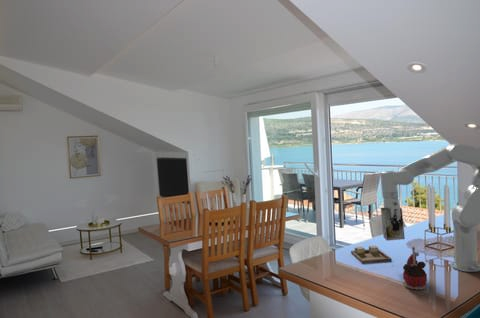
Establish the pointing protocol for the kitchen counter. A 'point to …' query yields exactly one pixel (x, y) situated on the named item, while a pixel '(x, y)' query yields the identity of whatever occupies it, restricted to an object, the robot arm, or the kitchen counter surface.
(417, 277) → the cake
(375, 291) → the kitchen counter surface
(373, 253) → the beech block
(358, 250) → the beech block
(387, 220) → the coffee box
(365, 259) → the tray
